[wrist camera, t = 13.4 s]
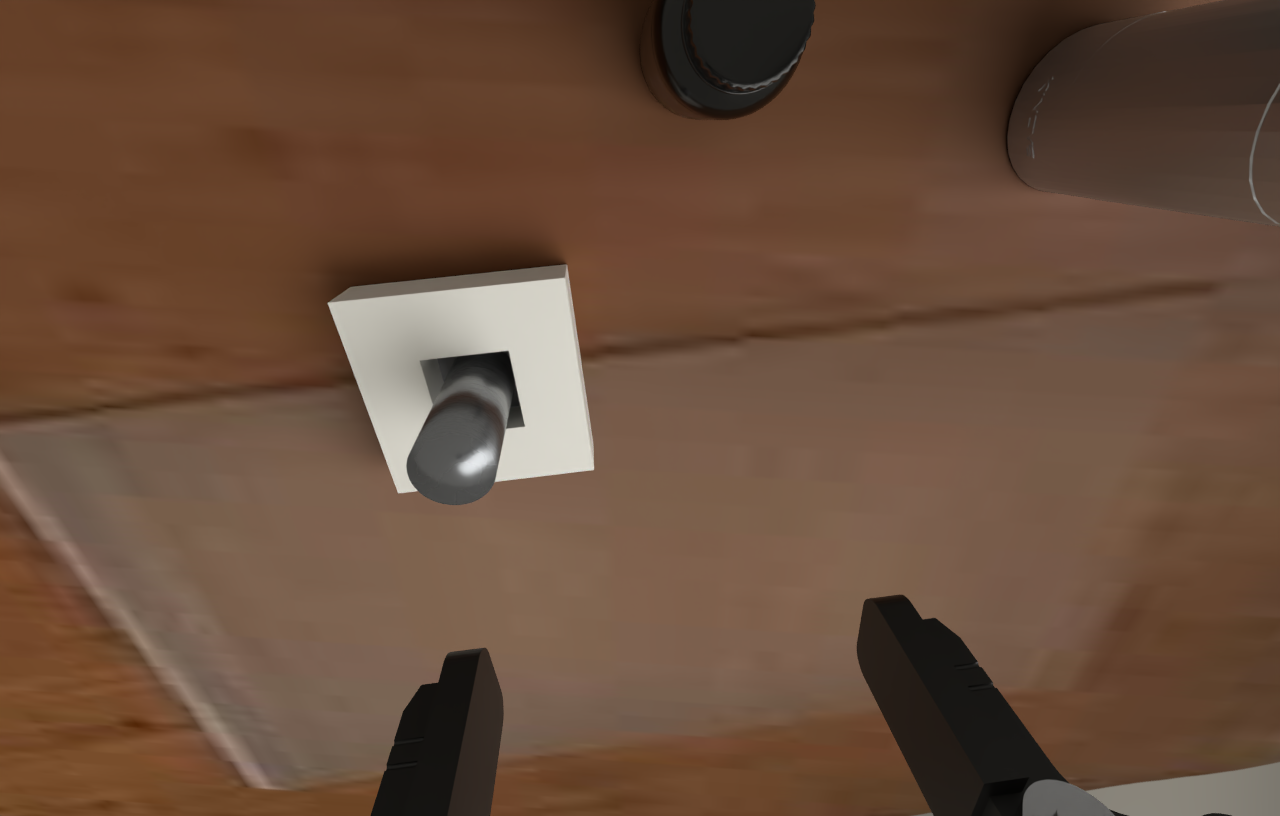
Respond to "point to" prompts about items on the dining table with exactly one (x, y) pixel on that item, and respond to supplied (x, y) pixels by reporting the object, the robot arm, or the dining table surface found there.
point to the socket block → (466, 325)
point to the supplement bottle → (722, 53)
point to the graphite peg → (464, 431)
